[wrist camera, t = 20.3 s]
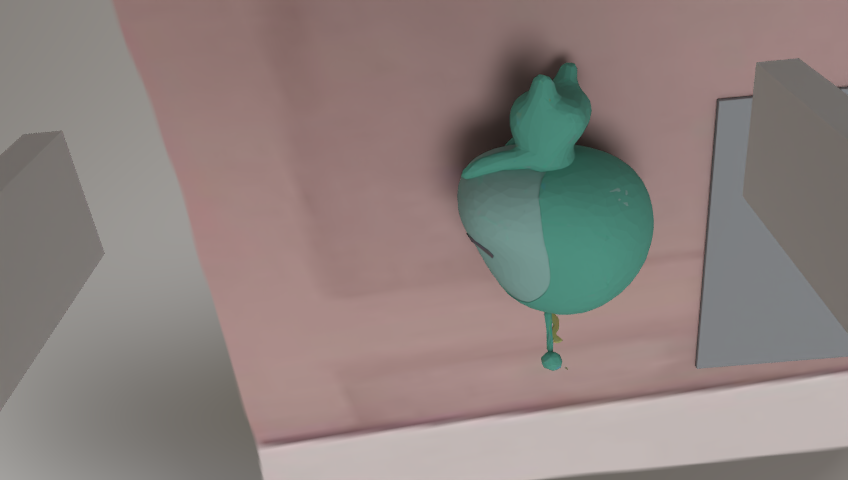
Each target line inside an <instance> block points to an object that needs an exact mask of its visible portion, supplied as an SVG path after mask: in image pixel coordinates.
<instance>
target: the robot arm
mask: <svg viewBox="0 0 848 480" xmlns="http://www.w3.org/2000/svg"><path fill="white" fill-rule="evenodd" d="M742 196H743V197H744V199H745V200H746V201H747V203H748V204H749V205H750V206H751V208H752V209H753V210H754V212H755V213H756V214H757V216H758V217H759V218H760V220H761V221H762V222H763V223H764V225H765V226H766V227H767V229H768V230H769V231H770V233H771V234H772V235H773V237H774V238H775V239H776V240H777V242H778V243H779V244H780V246H781V247H782V248H783V250H784V251H785V252H786V254H787V255H788V256H789V257H790V259H791V260H792V261H793V263H794V264H795V265H796V267H797V268H798V269H799V271H800V272H801V273H802V274H803V276H804V277H805V278H806V280H807V281H808V282H809V284H810V285H811V286H812V288H813V289H814V290H815V292H816V293H817V294H818V295H819V297H820V298H821V299H822V301H823V302H824V303H825V305H826V306H827V307H828V309H829V310H830V311H831V312H832V314H833V315H834V316H835V318H836V319H837V320H838V322H839V323H840V324H841V326H842V327H843V328H844V329H845V331H846V332H847V333H848V95H847V94H846V93H844V92H843V91H842V90H840V89H839V88H838V87H836V86H835V85H834V84H832V83H831V82H830V81H828V80H827V79H826V78H824V77H823V76H822V75H820V74H819V73H818V72H816V71H815V70H814V69H812V68H811V67H810V66H808V65H807V64H806V63H804V62H803V61H802V60H800V59H799V58H797V59H787V60H776V61H766V62H756V71H755V80H754V90H753V99H752V109H751V118H750V128H749V137H748V147H747V156H746V166H745V175H744V185H743V194H742ZM103 255H104V250H103V247H102V244H101V241H100V239H99V236H98V233H97V230H96V227H95V224H94V221H93V218H92V215H91V213H90V210H89V207H88V204H87V201H86V198H85V195H84V192H83V190H82V187H81V184H80V181H79V178H78V175H77V173H76V169H75V167H74V164H73V161H72V158H71V155H70V152H69V149H68V146H67V143H66V141H65V138H64V135H63V132H62V131H53V132H43V133H33V134H24V135H22V136H21V137H20V138H19V139H18V140H17V141H15V142H14V143H13V144H12V145H11V146H10V147H9V148H8V149H7V150H5V151H4V152H3V153H2V154H1V155H0V411H1V409H2V408H3V406H4V405H5V403H6V402H7V400H8V398H9V397H10V396H11V394H12V392H13V391H14V390H15V388H16V386H17V385H18V383H19V382H20V380H21V379H22V377H23V376H24V374H25V373H26V371H27V370H28V368H29V367H30V365H31V364H32V362H33V361H34V359H35V358H36V356H37V355H38V353H39V352H40V350H41V349H42V347H43V346H44V344H45V343H46V341H47V340H48V338H49V337H50V335H51V334H52V332H53V330H54V329H55V327H56V326H57V325H58V323H59V322H60V320H61V319H62V317H63V316H64V314H65V313H66V311H67V310H68V308H69V307H70V305H71V304H72V302H73V301H74V299H75V297H76V296H77V294H78V293H79V291H80V290H81V288H82V287H83V285H84V284H85V282H86V281H87V279H88V278H89V276H90V275H91V273H92V272H93V270H94V269H95V267H96V266H97V264H98V263H99V261H100V260H101V258H102V257H103Z"/></svg>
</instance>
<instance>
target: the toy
mask: <svg viewBox="0 0 848 480" xmlns="http://www.w3.org/2000/svg"><path fill="white" fill-rule="evenodd" d="M591 111H592V110H591V104H590V100H589V99H588V97H587V96H586V95H585V93H584V92H583V91H582V89H581V88H580V86H579V84H578V81H577V67H576V66H575V64H574V63H565V64H563V65H562V66H561V67H560V69H559V71H558V73H557V75H556V76H555V78H554V79H553V80H552V79H551V78H550V77H548V76H545V75H542V74H539V75H538V76H536V77H535V78H534V79H533V81H532V84H531V87H530V90H529V91H527V92H525V93H523V94H522V95H521V96H519V97H518V98H517V99H516V100H515V102H514V104H513V106H512V108H511V112H510V127H511V132H512V136H513V138H511V139H510V140H509V141H508V142H507V144H506V146H503V147H499V148H495V149H492V150H489V151H487V152H485V153H483V154H481V155H479V156H477V157H476V158H475V159H473V160H472V161H471V162H470V163H469V164H468V166H467V167H466V168H465V169H464V170H463V172H462V175H461V179H460V182H459V185H458V194H457V198H458V210H459V214H460V217H461V221H462V223H463V225H464V227H465V229H466V231H467V233H466V234H467V235H468V237H469V238H470V240H471V241H472V242H473V243H474V244H475V245H476V247H477V249H478V251H479V252H480V254H481V256H482V258H483V260H484V261H485V263H486V265H487V266H488V268H489V269H490V271H491V273H492V274H493V275H494V277H495V278H496V279H497V281H498V282H499V284H500V285H501V286H502V287H503V288H504V290H505V291H506V292H507V293H508V294H509V295H510V296H511V297H513V298H514V299H516V300H517V301H518V302H520V303H522V304H524V305H526V306H528V307H530V308H533V309H536V310H539V311H543V312H545V313H544V315H545V322H546V329H547V350H548V352H547V353H546V354H545V355H543V357H542V358H541V360H542V364H543V366H544V368H547V369H550V370H553V371H554V370H557V369H559V368H561V364H562V359H561V357H560V355H559V354H557V353H556V352H553V343H559V342H561V341H562V339H561V338H560V337H558V336H557V335H556V332H557V331H558V329H559V319H558V317H557V316H556V315H555V314H559V315H568V314H577V313H584V312H587V311H590V310H593V309H595V308H598V307H600V306H602V305H604V304H605V303H607V302H609V301H610V300H612V299H613V298H614V297H616V296H617V295H619V294H620V293H621V292H622V291H623V290H624V289H625V288H626V287H627V286H628V285H629V284H630V283H631V282H632V281H633V279H634V278H635V277H636V275H637V274H638V272H639V271H640V269H641V267H642V266H643V264H644V262H645V260H646V258H647V254H648V251H649V248H650V245H651V241H652V236H653V228H654V220H653V210H652V204H651V200H650V197H649V194H648V192H647V189H646V187H645V185H644V183H643V181H642V180H641V178H640V177H639V176H638V175H637V173H636V172H635V171H634V170H633V169H632V168H631V167H630V166H629V165H627V164H626V163H624V162H623V161H621V160H620V159H619V158H617V157H615V156H613V155H611V154H608V153H606V152H604V151H600V150H597V149H594V148H590V147H585V146H580V145H574V144H575V143H576V142H577V140H578V139H579V138H580V137H581V135H582V134H583V132H584V130H585V128H586V127H587V125H588V123H589V120H590V116H591ZM552 323H553V327H552ZM553 340H554V341H553ZM565 368H566V369H567V370H568V368H567V367H565Z"/></svg>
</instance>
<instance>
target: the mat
mask: <svg viewBox="0 0 848 480" xmlns="http://www.w3.org/2000/svg"><path fill="white" fill-rule="evenodd" d="M839 89H840V90H842V91H843V92H844V93H846V94H847V95H848V87H839ZM752 99H753V96H746V97H736V98H725V99H717V111H716V124H715V136H714V148H713V160H712V172H711V184H710V196H709V208H708V220H707V233H706V245H705V257H704V269H703V281H702V293H701V305H700V317H699V329H698V342H697V354H696V368H697V369H698V368H711V367H723V366H736V365H748V364H761V363H773V362H785V361H798V360H810V359H823V358H835V357H847V356H848V333H847V332H846V331H845V329H844V328H843V327H842V326H841V324H840V323H839V322H838V320H837V319H836V318H835V316H834V315H833V314H832V312H831V311H830V310H829V309H828V307H827V306H826V305H825V303H824V302H823V301H822V299H821V298H820V297H819V295H818V294H817V293H816V292H815V290H814V289H813V288H812V286H811V285H810V284H809V282H808V281H807V280H806V278H805V277H804V276H803V274H802V273H801V272H800V271H799V269H798V268H797V267H796V265H795V264H794V263H793V261H792V260H791V259H790V257H789V256H788V255H787V254H786V252H785V251H784V250H783V248H782V247H781V246H780V244H779V243H778V242H777V240H776V239H775V238H774V237H773V235H772V234H771V233H770V231H769V230H768V229H767V227H766V226H765V225H764V223H763V222H762V221H761V220H760V218H759V217H758V216H757V214H756V213H755V212H754V210H753V209H752V208H751V206H750V205H749V204H748V203H747V201H746V200H745V199H744V197H743V196H742V194H743V185H744V175H745V166H746V156H747V147H748V137H749V128H750V118H751V109H752Z"/></svg>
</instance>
